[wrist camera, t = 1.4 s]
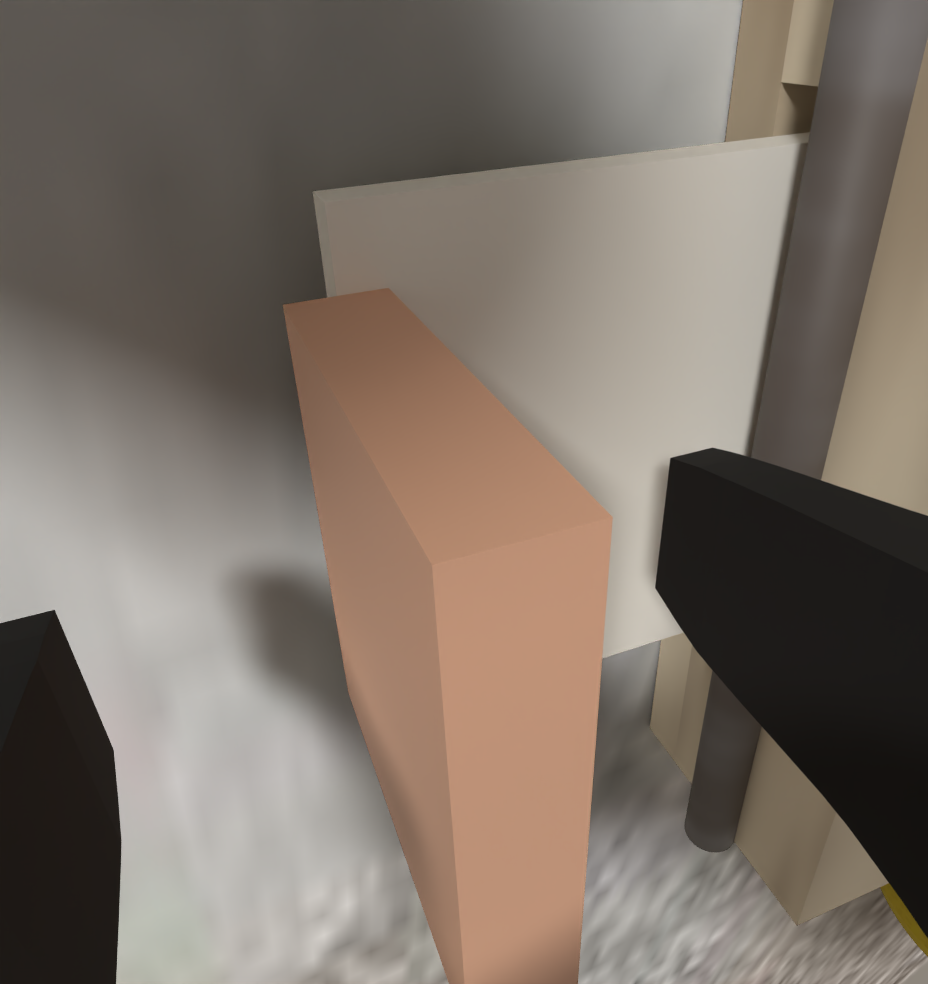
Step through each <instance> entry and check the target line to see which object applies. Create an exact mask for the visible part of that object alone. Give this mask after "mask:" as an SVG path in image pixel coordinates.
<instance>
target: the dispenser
mask: <svg viewBox="0 0 928 984" xmlns="http://www.w3.org/2000/svg"><path fill="white" fill-rule="evenodd" d="M807 132H810V135H809V141H808V146H807V152H806V157H805V163H804V168H803V174H802V179H801V185H800V190H799V196H798V201H797V207H796V212H795V218H794V223H793V229H792V234H791V240H790V245H789V251H788V256H787V262H786V267H785V273H784V278H783V284H782V289H781V295H780V301H779V306H778V312H777V317H776V323H775V328H774V334H773V339H772V345H771V350H770V356H769V361H768V367H767V372H766V378H765V383H764V389H763V394H762V400H761V405H760V411H759V416H758V422H757V427H756V433H755V438H754V444H753V449H752V455H751V458H754V459H758V460H761V461H764V462H767V463H770V464H773V465H777V466H780V467H783V468H786V469H789V470H792V471H795V472H798V473H801V474H804V475H807V476H810V477H813V478H816V479H819V480H822V481H825V482H828V483H831V484H833V485H836V486H839V487H842V488H845V489H848V490H851V491H854V492H857V493H860V494H863V495H866V496H869V497H872V498H875V499H878V500H881V501H884V502H887V503H890V504H893V505H896V506H899V507H902V508H905V509H908V510H911V511H915V512H918V513H921V514H924V515H927V516H928V0H743V6H742V14H741V22H740V30H739V37H738V45H737V53H736V61H735V69H734V76H733V84H732V92H731V100H730V107H729V115H728V123H727V131H726V139H725V142H731V141H740V140H748V139H756V138H765V137H773V136H782V135H790V134H798V133H807ZM650 729H651V730H652V732H653V733H654V734H655V736H656V737H657V738H658V740H659V741H660V742H661V744H662V745H663V746H664V748H665V749H666V750H667V752H668V753H669V755H670V756H671V757H672V759H673V760H674V761H675V763H676V764H677V765H678V767H679V768H680V769H681V771H682V772H683V773H684V775H685V776H686V777H687V779H688V780H689V781H690V783H691V784H692V786H691V792H690V797H689V803H688V808H687V814H686V819H685V831H686V834H687V836H688V838H689V839H690V840H691V841H692V842H693V843H694V844H695V845H696V846H697V847H699V848H701V849H703V850H705V851H709V852H722V851H725V850H727V849H728V848H730V847H731V846H732V844H733V842H735V843H736V845H737V846H738V847H739V849H740V850H741V851H742V853H743V854H744V855H745V857H746V858H747V859H748V861H749V862H750V863H751V865H752V866H753V867H754V869H755V870H756V871H757V873H758V874H759V875H760V877H761V878H762V879H763V881H764V882H765V883H766V885H767V886H768V887H769V889H770V890H771V892H772V893H773V894H774V896H775V897H776V898H777V900H778V901H779V902H780V904H781V905H782V906H783V908H784V909H785V910H786V912H787V913H788V914H789V916H790V917H791V918H792V920H793V921H794V922H795V924H796V925H797V926H798V925H800V924H802V923H804V922H806V921H808V920H811V919H813V918H815V917H817V916H819V915H821V914H823V913H826V912H828V911H830V910H832V909H834V908H836V907H839V906H841V905H843V904H845V903H847V902H849V901H851V900H854V899H856V898H858V897H860V896H862V895H864V894H867V893H869V892H871V891H873V890H875V889H877V888H879V887H882V886H884V885H886V884H888V883H889V882H888V881H887V880H886V878H885V877H884V876H883V874H882V873H881V871H880V870H879V869H878V867H877V866H876V865H875V863H874V862H873V860H872V859H871V858H870V856H869V855H868V854H867V852H866V851H865V849H864V848H863V847H862V845H861V844H860V842H859V841H858V840H857V838H856V837H855V836H854V834H853V833H852V831H851V830H850V829H849V827H848V826H847V825H846V824H845V822H844V821H843V820H842V819H841V817H840V816H839V815H838V814H837V813H836V811H835V810H834V809H833V808H832V806H831V805H830V804H829V803H828V802H827V800H826V799H825V798H824V797H823V795H822V794H821V793H820V792H819V791H818V790H817V788H816V787H815V786H814V785H813V784H812V783H811V782H810V781H809V779H808V778H807V777H806V776H805V775H804V774H803V773H802V771H801V770H800V769H799V768H798V767H797V766H796V765H795V764H794V762H793V761H792V760H791V759H790V758H789V757H788V756H787V755H786V753H785V752H784V751H783V750H782V749H781V748H780V747H779V745H778V744H777V743H776V742H775V741H774V740H773V739H772V738H771V736H770V735H769V734H768V733H767V732H766V731H765V730H764V729H763V727H762V726H761V725H760V724H759V723H758V722H757V721H756V719H755V718H754V717H753V716H752V715H751V714H750V713H749V712H748V710H747V709H746V708H745V707H744V706H743V705H742V704H741V703H740V701H739V700H738V699H737V698H736V697H735V696H734V694H733V693H732V692H731V691H730V690H729V689H728V688H727V686H726V685H725V684H724V683H723V682H722V681H721V679H720V678H719V677H718V676H717V675H716V674H715V673H714V671H713V670H712V669H711V668H710V667H709V666H708V664H707V663H706V662H705V661H704V660H703V658H702V657H701V656H700V655H699V654H698V652H697V651H696V650H695V648H694V647H693V645H692V644H691V642H690V641H689V639H688V638H687V637H686V635H685V634H684V633H680V634H677V635H674V636H671V637H668V638H665V639H662V640H661V644H660V652H659V660H658V668H657V675H656V683H655V691H654V699H653V707H652V714H651V722H650Z"/></svg>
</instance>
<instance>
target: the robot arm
mask: <svg viewBox="0 0 928 984" xmlns="http://www.w3.org/2000/svg"><path fill="white" fill-rule="evenodd" d="M655 589H656V590H657V592H658V593H659V595H660V597H661V598H662V600H663V601H664V603H665V604H666V606H667V608H668V609H669V611H670V612H671V614H672V616H673V617H674V619H675V620H676V622H677V623H678V625H679V626H680V628H681V629H682V631H683V632H684V634H685V635H686V637H687V638H688V639H689V641H690V642H691V644H692V645H693V647H694V648H695V650H696V651H697V652H698V654H699V655H700V656H701V657H702V658H703V660H704V661H705V662H706V663H707V664H708V666H709V667H710V668H711V669H712V670H713V671H714V673H715V674H716V675H717V676H718V677H719V678H720V679H721V681H722V682H723V683H724V684H725V685H726V686H727V688H728V689H729V690H730V691H731V692H732V693H733V694H734V696H735V697H736V698H737V699H738V700H739V701H740V703H741V704H742V705H743V706H744V707H745V708H746V709H747V710H748V712H749V713H750V714H751V715H752V716H753V717H754V718H755V719H756V721H757V722H758V723H759V724H760V725H761V726H762V727H763V729H764V730H765V731H766V732H767V733H768V734H769V735H770V736H771V738H772V739H773V740H774V741H775V742H776V743H777V744H778V745H779V747H780V748H781V749H782V750H783V751H784V752H785V753H786V755H787V756H788V757H789V758H790V759H791V760H792V761H793V762H794V764H795V765H796V766H797V767H798V768H799V769H800V770H801V771H802V773H803V774H804V775H805V776H806V777H807V778H808V779H809V781H810V782H811V783H812V784H813V785H814V786H815V787H816V788H817V790H818V791H819V792H820V793H821V794H822V795H823V797H824V798H825V799H826V800H827V802H828V803H829V804H830V805H831V806H832V808H833V809H834V810H835V811H836V813H837V814H838V815H839V816H840V817H841V819H842V820H843V821H844V822H845V824H846V825H847V826H848V827H849V829H850V830H851V831H852V833H853V834H854V836H855V837H856V838H857V840H858V841H859V842H860V844H861V845H862V847H863V848H864V849H865V851H866V852H867V854H868V855H869V856H870V858H871V859H872V860H873V862H874V863H875V865H876V866H877V867H878V869H879V870H880V871H881V873H882V874H883V876H884V877H885V878H886V880H887V881H888V882H889V884H890V885H891V887H892V888H893V889H894V891H895V892H896V893H897V895H898V896H899V898H900V899H901V900H902V902H903V903H904V905H905V906H906V908H907V909H908V911H909V912H910V913H911V915H912V916H913V918H914V919H915V921H916V922H917V924H918V925H919V927H920V928H921V930H922V931H923V933H924V934H925V935H926V937H927V938H928V516H927V515H924V514H921V513H918V512H915V511H911V510H908V509H905V508H902V507H899V506H896V505H893V504H890V503H887V502H884V501H881V500H878V499H875V498H872V497H869V496H866V495H863V494H860V493H857V492H854V491H851V490H848V489H845V488H842V487H839V486H836V485H833V484H831V483H828V482H825V481H822V480H819V479H816V478H813V477H810V476H807V475H804V474H801V473H798V472H795V471H792V470H789V469H786V468H783V467H780V466H777V465H773V464H770V463H767V462H764V461H761V460H758V459H754V458H751V457H748V456H744V455H741V454H737V453H733V452H729V451H725V450H721V449H717V448H709V449H705V450H701V451H696V452H692V453H688V454H684V455H680V456H676V457H672V458H670V465H669V473H668V482H667V490H666V499H665V507H664V516H663V524H662V533H661V541H660V550H659V558H658V567H657V575H656V584H655ZM120 871H121V831H120V818H119V805H118V793H117V783H116V772H115V761H114V751H113V747H112V745H111V743H110V740H109V738H108V736H107V733H106V731H105V728H104V726H103V724H102V721H101V719H100V717H99V714H98V712H97V710H96V707H95V705H94V702H93V700H92V698H91V695H90V693H89V691H88V688H87V686H86V683H85V681H84V679H83V676H82V674H81V672H80V669H79V667H78V664H77V662H76V660H75V657H74V655H73V653H72V650H71V648H70V645H69V643H68V641H67V638H66V636H65V634H64V631H63V629H62V627H61V624H60V622H59V619H58V617H57V615H56V612H55V610H52V611H48V612H44V613H40V614H36V615H32V616H28V617H24V618H20V619H16V620H12V621H8V622H4V623H0V984H116V969H117V946H118V923H119V897H120Z"/></svg>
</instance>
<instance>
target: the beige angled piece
mask: <svg viewBox="0 0 928 984" xmlns="http://www.w3.org/2000/svg"><path fill="white" fill-rule="evenodd" d="M809 135H810V132H807V133H798V134H790V135H782V136H773V137H765V138H756V139H748V140H740V141H731V142H723V143H714V144H706V145H698V146H689V147H681V148H672V149H664V150H656V151H647V152H639V153H630V154H622V155H614V156H605V157H597V158H588V159H580V160H572V161H563V162H555V163H547V164H538V165H530V166H521V167H513V168H505V169H496V170H488V171H479V172H471V173H463V174H454V175H446V176H437V177H429V178H421V179H412V180H404V181H395V182H387V183H379V184H370V185H362V186H353V187H345V188H337V189H328V190H320V191H313V198H314V205H315V212H316V219H317V227H318V234H319V241H320V249H321V256H322V263H323V270H324V278H325V285H326V292H327V298H321V299H315V300H309V301H302V302H296V303H290V304H283V310H284V315H285V321H286V327H287V333H288V339H289V345H290V351H291V357H292V363H293V369H294V374H295V380H296V386H297V392H298V398H299V404H300V410H301V416H302V422H303V428H304V434H305V439H306V445H307V451H308V457H309V463H310V469H311V475H312V481H313V487H314V493H315V498H316V504H317V510H318V516H319V522H320V528H321V534H322V540H323V546H324V552H325V557H326V563H327V569H328V575H329V581H330V587H331V593H332V599H333V605H334V611H335V617H336V622H337V628H338V634H339V640H340V646H341V652H342V658H343V664H344V670H345V676H346V681H347V687H348V693H349V696H350V699H351V702H352V705H353V707H354V710H355V713H356V716H357V719H358V722H359V725H360V728H361V731H362V733H363V736H364V739H365V742H366V745H367V748H368V751H369V754H370V757H371V759H372V762H373V765H374V768H375V771H376V774H377V777H378V780H379V783H380V785H381V788H382V791H383V794H384V797H385V800H386V803H387V806H388V809H389V811H390V814H391V817H392V820H393V823H394V826H395V829H396V832H397V835H398V837H399V840H400V843H401V846H402V849H403V852H404V855H405V858H406V861H407V863H408V866H409V869H410V872H411V875H412V878H413V881H414V884H415V887H416V889H417V892H418V895H419V898H420V901H421V904H422V907H423V910H424V913H425V915H426V918H427V921H428V924H429V927H430V930H431V933H432V936H433V939H434V941H435V944H436V947H437V950H438V953H439V956H440V959H441V962H442V965H443V967H444V970H445V973H446V976H447V979H448V982H449V984H578V973H579V959H580V946H581V933H582V920H583V906H584V893H585V880H586V866H587V853H588V840H589V826H590V813H591V800H592V787H593V773H594V760H595V747H596V733H597V720H598V707H599V694H600V680H601V667H602V658H606V657H609V656H612V655H615V654H618V653H621V652H624V651H627V650H631V649H634V648H637V647H640V646H643V645H646V644H649V643H652V642H655V641H659V640H662V639H665V638H668V637H671V636H674V635H677V634H680V633H684V632H683V631H682V629H681V628H680V626H679V625H678V623H677V622H676V620H675V619H674V617H673V616H672V614H671V612H670V611H669V609H668V608H667V606H666V604H665V603H664V601H663V600H662V598H661V597H660V595H659V593H658V592H657V590H656V589H655V584H656V575H657V567H658V558H659V550H660V541H661V533H662V524H663V516H664V507H665V499H666V490H667V482H668V473H669V465H670V458H672V457H676V456H680V455H684V454H688V453H692V452H696V451H701V450H705V449H709V448H717V449H721V450H725V451H729V452H733V453H737V454H741V455H744V456H748V457H751V455H752V449H753V444H754V438H755V433H756V427H757V422H758V416H759V411H760V405H761V400H762V394H763V389H764V383H765V378H766V372H767V367H768V361H769V356H770V350H771V345H772V339H773V334H774V328H775V323H776V317H777V312H778V306H779V301H780V295H781V289H782V284H783V278H784V273H785V267H786V262H787V256H788V251H789V245H790V240H791V234H792V229H793V223H794V218H795V212H796V207H797V201H798V196H799V190H800V185H801V179H802V174H803V168H804V163H805V157H806V152H807V146H808V141H809Z"/></svg>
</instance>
